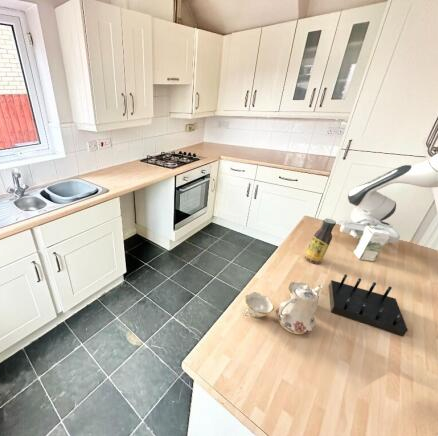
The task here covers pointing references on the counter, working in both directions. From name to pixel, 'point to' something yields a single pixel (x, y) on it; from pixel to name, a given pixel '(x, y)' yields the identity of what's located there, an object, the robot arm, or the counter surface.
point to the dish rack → (367, 306)
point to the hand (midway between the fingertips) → (370, 240)
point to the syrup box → (371, 243)
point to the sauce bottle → (320, 242)
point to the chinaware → (288, 308)
